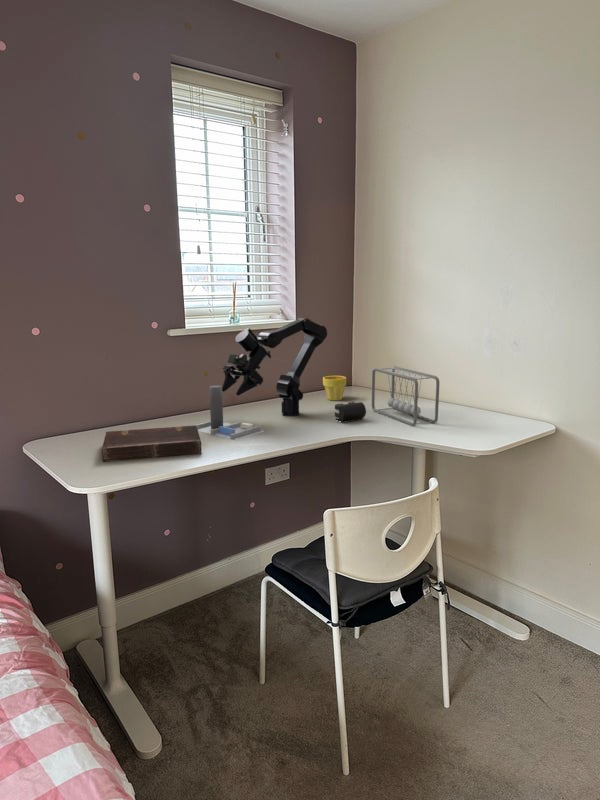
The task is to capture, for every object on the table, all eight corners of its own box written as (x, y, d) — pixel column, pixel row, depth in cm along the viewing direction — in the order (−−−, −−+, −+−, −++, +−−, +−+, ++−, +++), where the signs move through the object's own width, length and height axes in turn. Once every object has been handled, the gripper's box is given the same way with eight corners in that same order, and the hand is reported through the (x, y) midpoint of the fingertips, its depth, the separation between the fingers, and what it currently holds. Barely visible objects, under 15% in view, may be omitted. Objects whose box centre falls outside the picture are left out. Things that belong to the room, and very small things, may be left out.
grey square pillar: (223, 426, 207) (222, 385, 204) (222, 429, 203) (221, 387, 200) (211, 426, 207) (210, 385, 204) (210, 429, 203) (208, 388, 200)
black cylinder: (344, 424, 211) (344, 406, 210) (333, 420, 217) (333, 402, 216) (366, 420, 216) (366, 403, 215) (355, 417, 222) (355, 400, 221)
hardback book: (103, 463, 170) (101, 447, 169) (107, 446, 187) (106, 431, 186) (201, 455, 177) (200, 440, 176) (197, 439, 194) (196, 425, 193)
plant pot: (318, 399, 254) (318, 377, 252) (332, 395, 262) (332, 374, 260) (336, 402, 248) (337, 380, 245) (350, 398, 255) (350, 377, 253)
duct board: (264, 432, 200) (264, 424, 200) (236, 441, 190) (236, 432, 189) (217, 422, 215) (216, 414, 214) (188, 430, 204) (188, 422, 204)
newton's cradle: (438, 424, 210) (440, 376, 206) (414, 427, 206) (416, 379, 202) (392, 408, 237) (393, 365, 233) (370, 410, 233) (371, 367, 229)
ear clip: (252, 428, 203) (252, 424, 203) (248, 429, 202) (248, 425, 201) (244, 426, 206) (244, 422, 205) (240, 427, 204) (240, 423, 204)
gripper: (225, 343, 213) (201, 376, 208) (256, 347, 199) (230, 382, 194) (243, 362, 220) (220, 394, 215) (274, 367, 206) (249, 402, 201)
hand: (229, 393), depth 206 cm, fingers open, 9 cm apart
